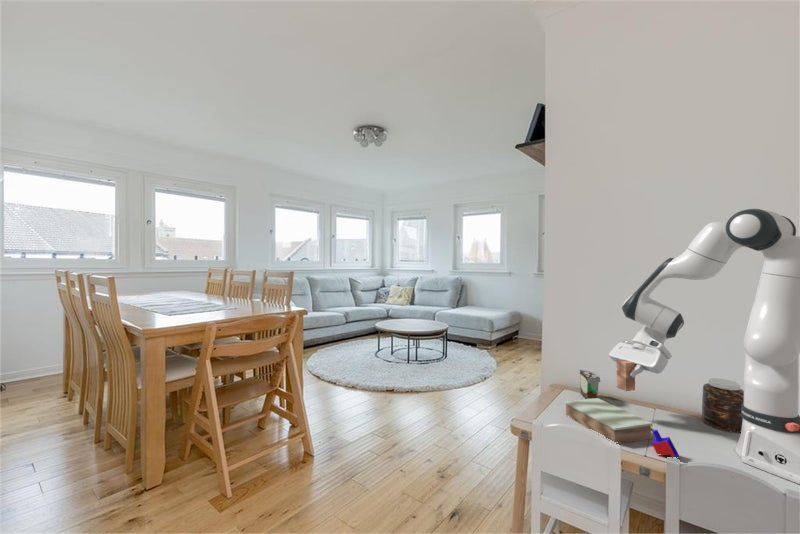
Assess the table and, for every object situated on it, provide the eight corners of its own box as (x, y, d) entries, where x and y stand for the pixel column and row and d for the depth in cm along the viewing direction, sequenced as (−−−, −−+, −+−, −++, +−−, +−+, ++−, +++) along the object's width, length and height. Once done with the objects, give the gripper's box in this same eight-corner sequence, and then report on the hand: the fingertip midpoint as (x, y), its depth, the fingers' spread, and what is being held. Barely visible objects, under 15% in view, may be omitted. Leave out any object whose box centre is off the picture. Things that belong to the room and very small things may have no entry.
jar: (753, 428, 125) (754, 384, 125) (736, 435, 120) (737, 389, 120) (711, 415, 136) (712, 375, 136) (694, 421, 131) (695, 379, 131)
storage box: (652, 439, 117) (652, 423, 117) (614, 444, 114) (614, 428, 114) (597, 411, 139) (597, 398, 139) (564, 414, 136) (564, 401, 136)
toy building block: (663, 457, 109) (649, 429, 112) (679, 455, 107) (664, 427, 109) (661, 462, 107) (646, 433, 109) (677, 460, 104) (661, 431, 107)
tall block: (635, 390, 133) (634, 362, 133) (626, 391, 132) (625, 363, 132) (625, 386, 136) (625, 359, 137) (616, 387, 135) (616, 360, 136)
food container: (604, 404, 146) (605, 379, 146) (587, 403, 147) (588, 378, 147) (594, 393, 158) (595, 370, 158) (579, 392, 159) (579, 369, 159)
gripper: (617, 335, 146) (597, 361, 143) (666, 345, 126) (643, 376, 124) (626, 345, 147) (606, 372, 144) (676, 357, 127) (654, 388, 125)
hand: (624, 374), depth 134 cm, fingers closed on tall block, 4 cm apart
